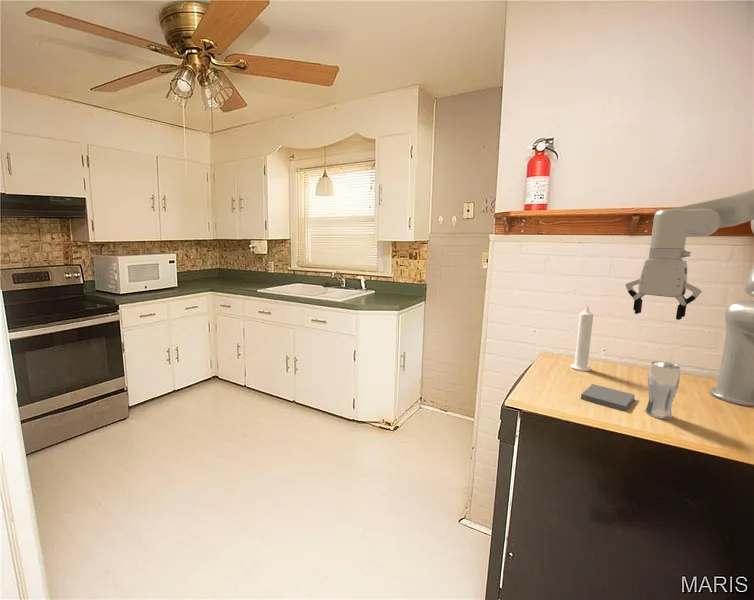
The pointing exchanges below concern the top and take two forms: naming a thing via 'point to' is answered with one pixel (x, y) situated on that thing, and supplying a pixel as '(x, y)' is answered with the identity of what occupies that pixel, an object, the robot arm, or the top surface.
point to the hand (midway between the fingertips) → (657, 316)
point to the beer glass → (662, 388)
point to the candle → (583, 341)
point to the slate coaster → (608, 397)
